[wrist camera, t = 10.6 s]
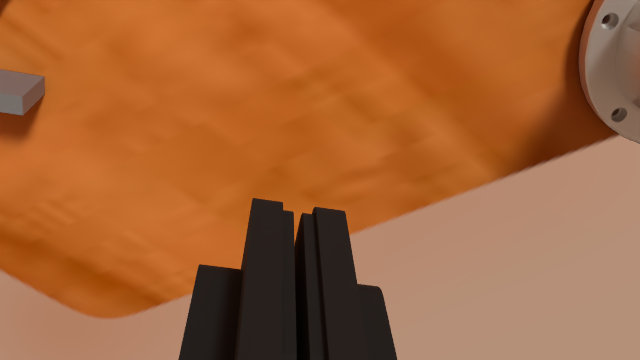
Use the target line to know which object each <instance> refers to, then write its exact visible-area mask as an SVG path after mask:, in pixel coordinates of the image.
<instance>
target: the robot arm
mask: <svg viewBox="0 0 640 360" xmlns="http://www.w3.org/2000/svg"><path fill="white" fill-rule="evenodd" d="M605 16H606V18H605V20H604V21H602V20H603V18H604V17H605ZM578 66H579V74H580V82H581V86H582V88H583V91H584V94H585V97H586V99H587V102H588V103H589V105H590V106H591V108H592V109H593V111H594V112H595V114H596V115H597V116H598V117H599V118H600V119H601V120H602V121H603V122H604V123H605V124H607V125H608V126H609V127H610V128H611V129H613V130H614V131H616V132H617V133H618V134H620V135H621V136H623V137H625V138H627V139H629V140H632V141H634V142H637V143H639V144H640V0H595V1H594V3H593V6H592V8H591V10H590V12H589V14H588V17H587V19H586V22H585V25H584V29H583V33H582V37H581V40H580V48H579V61H578ZM179 360H397V356H396V352H395V347H394V343H393V338H392V334H391V329H390V325H389V320H388V316H387V311H386V307H385V302H384V298H383V294H382V291H381V289H380V288H379V287H377V286H369V285H361V284H357V280H356V273H355V267H354V261H353V255H352V250H351V244H350V237H349V231H348V226H347V220H346V214H345V211H341V210H334V209H327V208H320V207H314V209H313V212H312V214H306V213H302V215H301V218H300V222H299V227H298V232H297V236H296V241H295V246H294V213H293V212H292V211H284V210H283V202H277V201H270V200H263V199H256V198H253V200H252V205H251V211H250V217H249V223H248V229H247V235H246V242H245V248H244V254H243V260H242V266H241V270H240V269H232V268H224V267H216V266H208V265H200V264H199V267H198V271H197V276H196V280H195V285H194V290H193V294H192V299H191V304H190V309H189V313H188V318H187V323H186V327H185V332H184V337H183V341H182V346H181V351H180V356H179Z"/></svg>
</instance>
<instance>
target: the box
mask: <svg viewBox="0 0 640 360" xmlns="http://www.w3.org/2000/svg"><path fill="white" fill-rule="evenodd" d="M44 94H45V86H44V77H43V76H37V75H31V74H25V73H19V72H12V71H6V70H0V112H3V113H10V114H16V115H24V114H25V113H26V112H27V111H28V110H29V109H30V108H31V107H32V106H33V105H34V104H35V103H36V102H37V101H38V100H39V99H40V98H41V97H42V96H43V95H44Z"/></svg>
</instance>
